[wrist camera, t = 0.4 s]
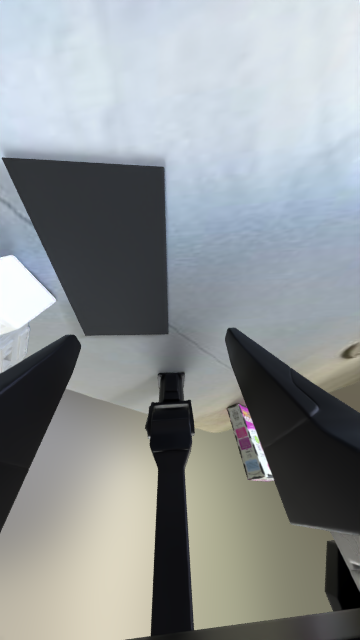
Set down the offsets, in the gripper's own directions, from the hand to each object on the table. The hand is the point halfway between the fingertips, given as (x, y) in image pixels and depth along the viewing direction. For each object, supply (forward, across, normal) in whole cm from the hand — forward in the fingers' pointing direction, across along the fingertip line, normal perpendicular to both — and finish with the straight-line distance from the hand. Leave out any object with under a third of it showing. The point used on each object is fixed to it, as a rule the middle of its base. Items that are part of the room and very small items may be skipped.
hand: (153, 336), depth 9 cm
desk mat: (+14, +7, +1) cm, 16 cm away
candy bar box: (+13, -23, +50) cm, 56 cm away
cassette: (+14, +27, +13) cm, 33 cm away
